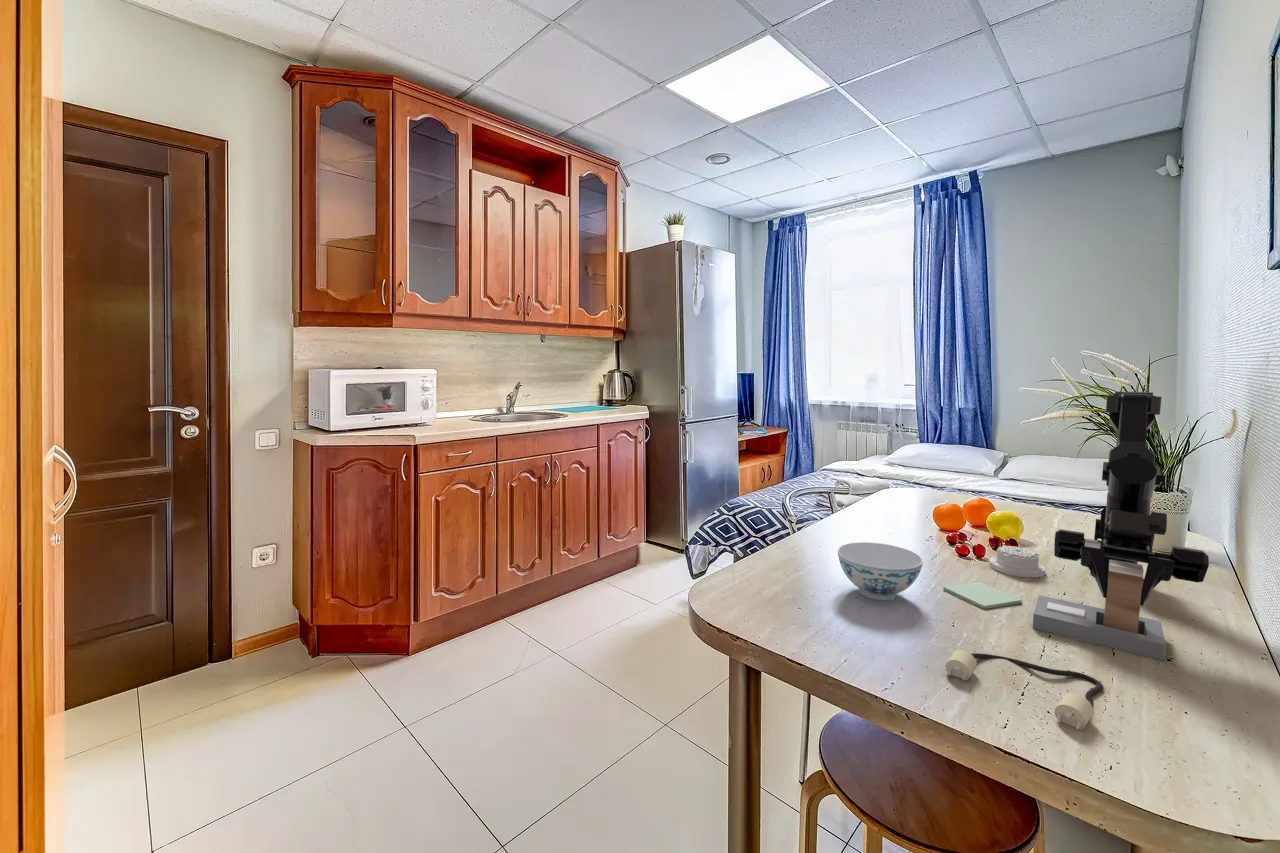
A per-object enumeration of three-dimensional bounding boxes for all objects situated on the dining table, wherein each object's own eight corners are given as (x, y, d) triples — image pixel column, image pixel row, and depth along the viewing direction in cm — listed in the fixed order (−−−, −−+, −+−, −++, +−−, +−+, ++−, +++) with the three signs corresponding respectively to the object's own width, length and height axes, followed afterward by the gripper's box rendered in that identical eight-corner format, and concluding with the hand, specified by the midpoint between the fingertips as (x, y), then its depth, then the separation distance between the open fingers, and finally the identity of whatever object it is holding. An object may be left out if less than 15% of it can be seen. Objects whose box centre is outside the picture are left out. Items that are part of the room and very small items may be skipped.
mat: (979, 584, 110) (979, 581, 110) (1021, 603, 101) (1021, 599, 101) (943, 589, 107) (943, 587, 107) (984, 609, 99) (984, 605, 99)
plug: (1102, 629, 91) (1109, 559, 90) (1135, 637, 89) (1142, 564, 88) (1102, 637, 88) (1109, 564, 87) (1136, 645, 85) (1143, 570, 85)
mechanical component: (1000, 577, 115) (1054, 580, 113) (1002, 556, 114) (1056, 560, 112) (981, 560, 125) (1030, 563, 123) (982, 542, 124) (1031, 544, 122)
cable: (983, 644, 87) (984, 624, 87) (1116, 692, 74) (1118, 668, 74) (938, 677, 78) (940, 654, 77) (1082, 739, 65) (1084, 711, 64)
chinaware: (931, 592, 106) (933, 554, 105) (905, 617, 95) (907, 575, 95) (854, 572, 116) (855, 537, 116) (823, 593, 106) (824, 554, 105)
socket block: (1038, 608, 99) (1039, 593, 99) (1159, 636, 89) (1160, 619, 89) (1032, 628, 92) (1033, 611, 91) (1164, 660, 81) (1166, 642, 81)
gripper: (1059, 483, 95) (1049, 561, 88) (1214, 500, 83) (1217, 592, 76) (1058, 518, 102) (1049, 593, 95) (1201, 538, 90) (1203, 626, 83)
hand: (1122, 600), depth 87 cm, fingers closed on plug, 4 cm apart
